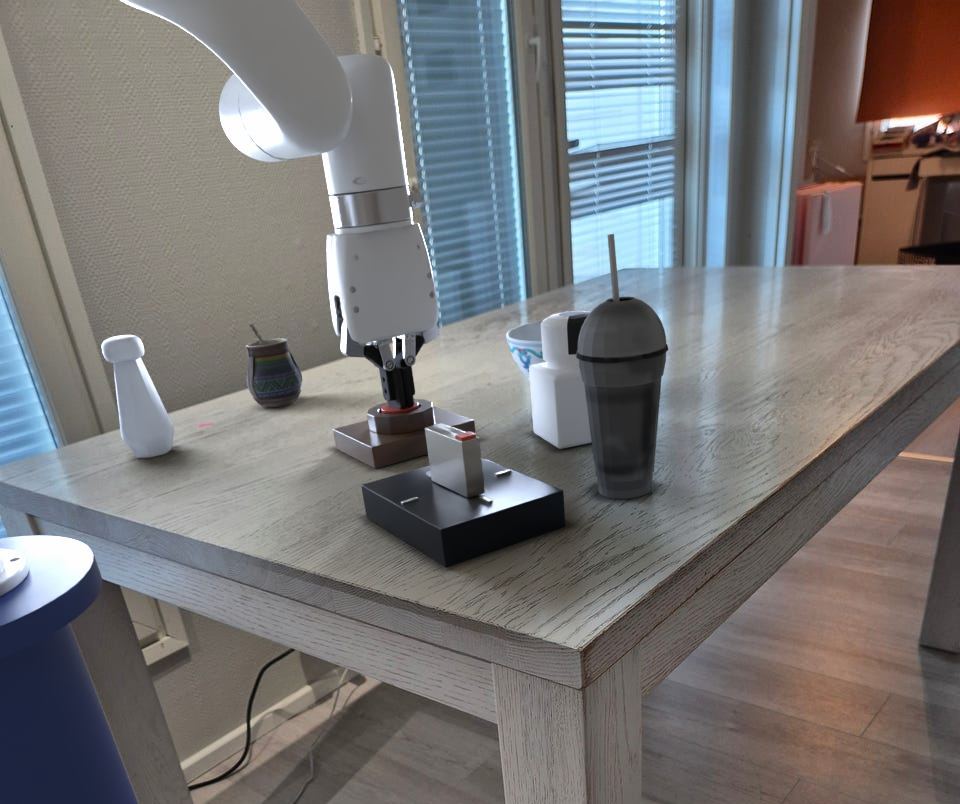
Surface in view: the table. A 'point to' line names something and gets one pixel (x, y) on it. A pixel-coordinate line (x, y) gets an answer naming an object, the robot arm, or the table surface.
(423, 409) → the button box
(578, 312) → the medicine bottle
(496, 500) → the panel
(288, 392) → the mate gourd
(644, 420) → the beverage cup
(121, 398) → the salt shaker
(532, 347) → the chinaware
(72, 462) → the table surface
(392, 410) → the button
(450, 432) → the brushed metal brick
